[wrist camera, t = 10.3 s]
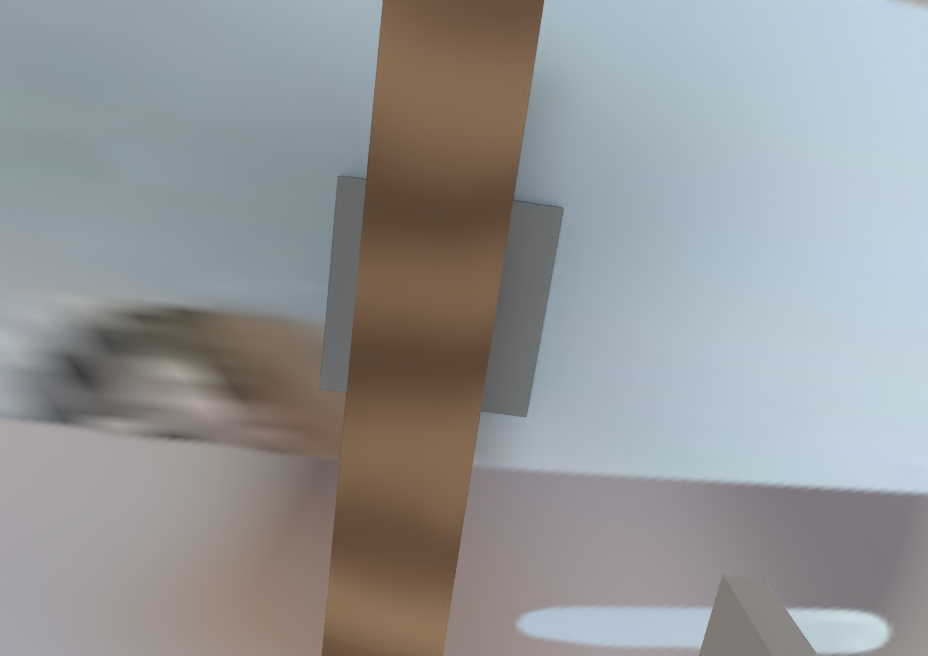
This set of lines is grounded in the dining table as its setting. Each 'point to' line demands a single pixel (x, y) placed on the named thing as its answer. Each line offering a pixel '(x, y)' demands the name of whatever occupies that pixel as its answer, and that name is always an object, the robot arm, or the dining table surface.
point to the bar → (424, 312)
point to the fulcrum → (515, 307)
